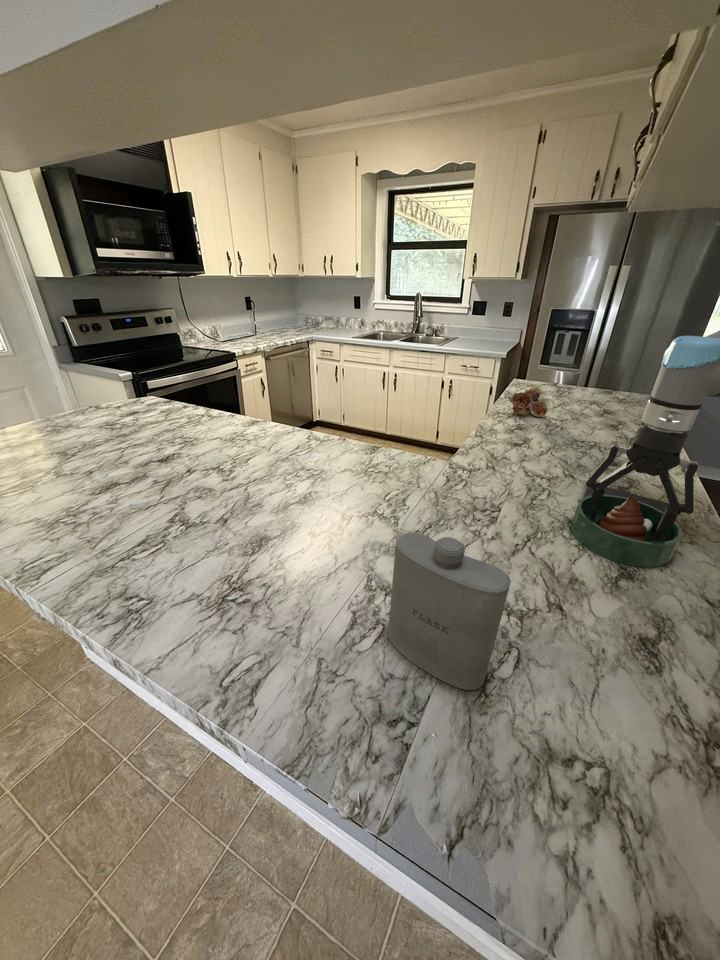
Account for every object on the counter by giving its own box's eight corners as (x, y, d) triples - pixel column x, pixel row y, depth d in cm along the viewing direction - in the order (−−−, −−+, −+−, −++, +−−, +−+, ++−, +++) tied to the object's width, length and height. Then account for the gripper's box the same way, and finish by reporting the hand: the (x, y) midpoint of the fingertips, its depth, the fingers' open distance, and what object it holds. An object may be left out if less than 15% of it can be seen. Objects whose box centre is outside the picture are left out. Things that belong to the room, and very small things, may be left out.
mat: (670, 505, 97) (671, 503, 96) (670, 528, 88) (671, 526, 88) (589, 484, 106) (589, 482, 105) (581, 502, 97) (582, 500, 97)
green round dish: (671, 534, 86) (681, 512, 83) (671, 581, 72) (683, 557, 70) (578, 506, 95) (585, 486, 92) (563, 543, 81) (570, 521, 79)
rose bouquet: (495, 396, 155) (532, 393, 143) (515, 381, 163) (551, 377, 152) (502, 427, 159) (539, 426, 148) (521, 411, 168) (557, 408, 156)
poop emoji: (586, 524, 87) (599, 487, 83) (622, 523, 88) (637, 486, 84) (615, 552, 79) (631, 512, 74) (655, 551, 79) (674, 512, 75)
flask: (377, 641, 59) (385, 530, 49) (399, 618, 63) (410, 511, 53) (472, 703, 50) (503, 584, 41) (490, 672, 55) (522, 557, 45)
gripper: (590, 418, 75) (559, 516, 85) (751, 449, 63) (693, 558, 74) (596, 409, 80) (566, 502, 91) (744, 435, 69) (691, 538, 79)
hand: (623, 527), depth 82 cm, fingers open, 11 cm apart
